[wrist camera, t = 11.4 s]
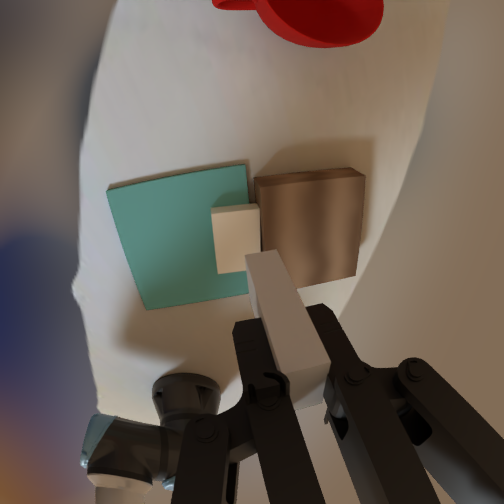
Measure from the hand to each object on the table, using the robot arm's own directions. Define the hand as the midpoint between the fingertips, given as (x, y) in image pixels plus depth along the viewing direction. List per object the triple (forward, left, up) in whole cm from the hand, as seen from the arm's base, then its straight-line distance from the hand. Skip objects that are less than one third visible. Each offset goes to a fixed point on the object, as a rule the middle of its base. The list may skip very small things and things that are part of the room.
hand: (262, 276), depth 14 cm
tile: (+1, -11, -24) cm, 26 cm away
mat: (-6, -11, -24) cm, 27 cm away
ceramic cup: (+9, +19, -25) cm, 32 cm away
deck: (+11, -11, -24) cm, 29 cm away
